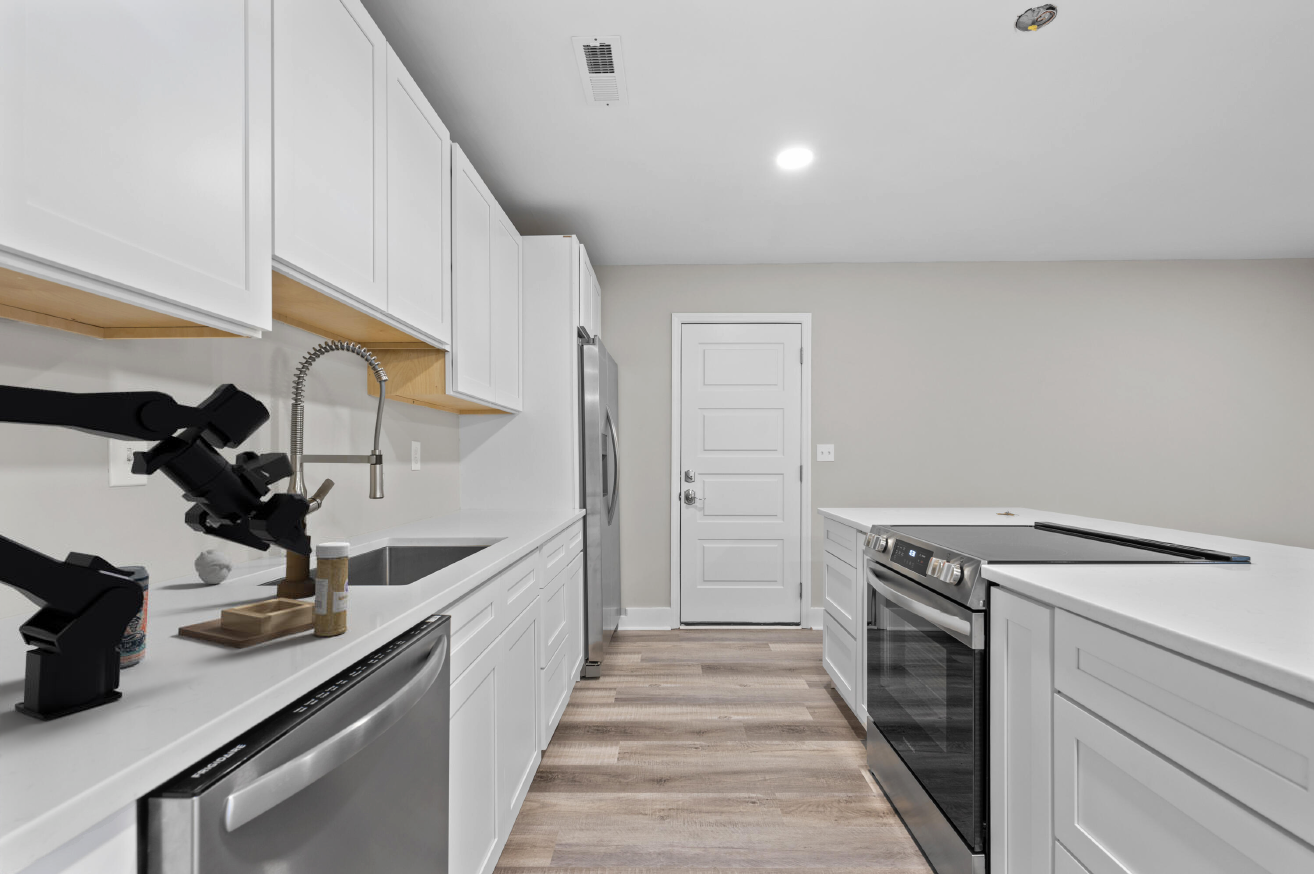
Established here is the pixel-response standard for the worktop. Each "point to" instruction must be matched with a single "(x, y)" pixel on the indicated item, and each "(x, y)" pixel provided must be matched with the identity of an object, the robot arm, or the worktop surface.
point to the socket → (255, 623)
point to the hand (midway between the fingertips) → (288, 551)
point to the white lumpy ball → (213, 566)
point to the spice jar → (331, 588)
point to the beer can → (135, 624)
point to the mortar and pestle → (297, 575)
